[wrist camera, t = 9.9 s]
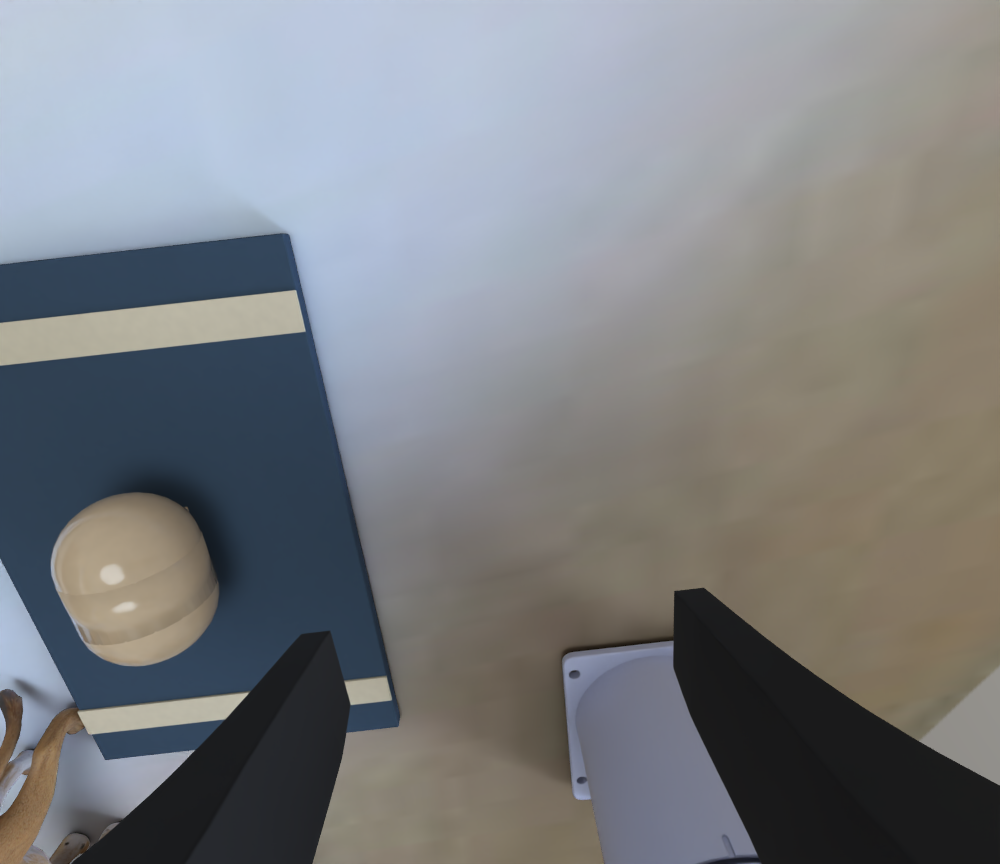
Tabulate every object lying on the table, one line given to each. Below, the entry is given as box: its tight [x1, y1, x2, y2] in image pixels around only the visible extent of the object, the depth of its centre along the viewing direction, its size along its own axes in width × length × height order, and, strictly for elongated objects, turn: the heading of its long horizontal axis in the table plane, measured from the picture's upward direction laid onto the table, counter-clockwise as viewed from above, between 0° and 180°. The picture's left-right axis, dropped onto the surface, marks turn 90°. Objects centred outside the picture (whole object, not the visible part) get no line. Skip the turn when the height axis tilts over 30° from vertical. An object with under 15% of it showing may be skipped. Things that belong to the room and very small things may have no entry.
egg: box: [50, 492, 220, 667], centre depth 19 cm, size 6×4×4 cm
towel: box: [0, 234, 400, 760], centre depth 21 cm, size 22×14×1 cm, turn 6°
